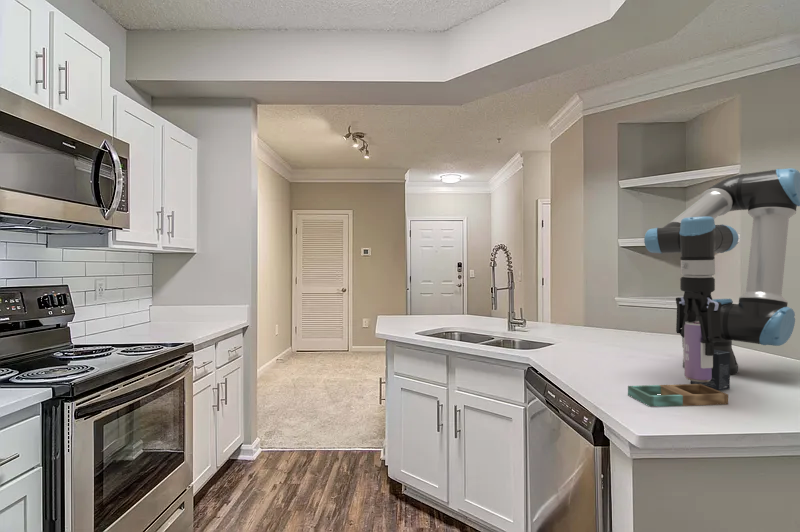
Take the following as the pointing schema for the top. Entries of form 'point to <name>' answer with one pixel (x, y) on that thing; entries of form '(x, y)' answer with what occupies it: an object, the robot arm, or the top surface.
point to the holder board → (677, 395)
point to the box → (719, 372)
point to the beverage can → (694, 353)
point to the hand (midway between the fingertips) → (697, 364)
